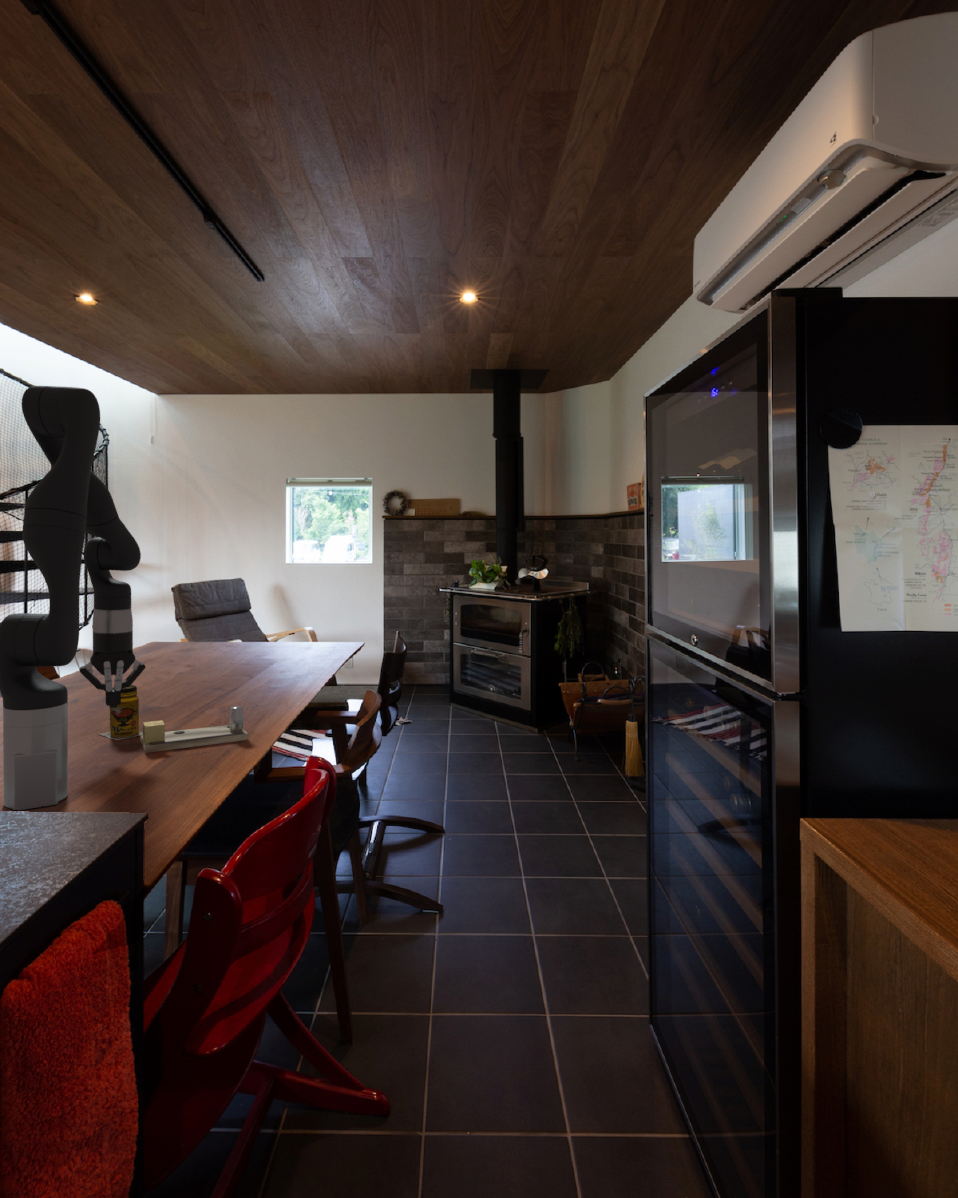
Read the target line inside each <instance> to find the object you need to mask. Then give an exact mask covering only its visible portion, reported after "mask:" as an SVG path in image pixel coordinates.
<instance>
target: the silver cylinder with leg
mask: <svg viewBox="0 0 958 1198" xmlns="http://www.w3.org/2000/svg"><path fill="white" fill-rule="evenodd" d="M229 725H230V733H241V732H243V729H244V706H242V705H241V706H240V705H235V706H230V708H229Z"/></svg>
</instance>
